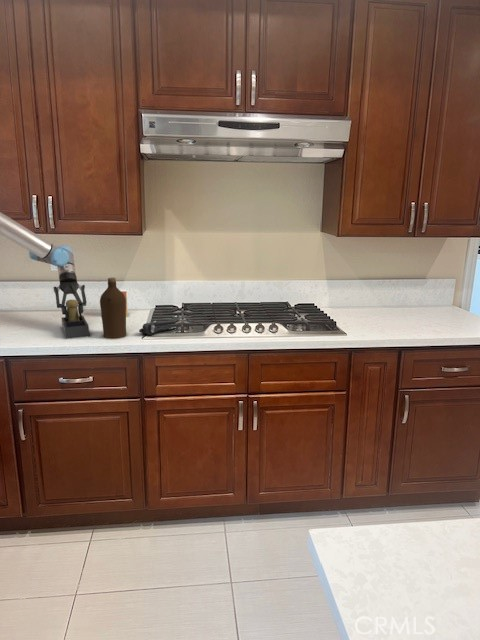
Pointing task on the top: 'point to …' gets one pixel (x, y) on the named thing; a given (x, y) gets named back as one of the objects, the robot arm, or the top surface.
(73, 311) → the cork
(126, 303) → the small box
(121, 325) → the olive oil
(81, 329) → the dark grey hollow block
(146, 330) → the can opener
